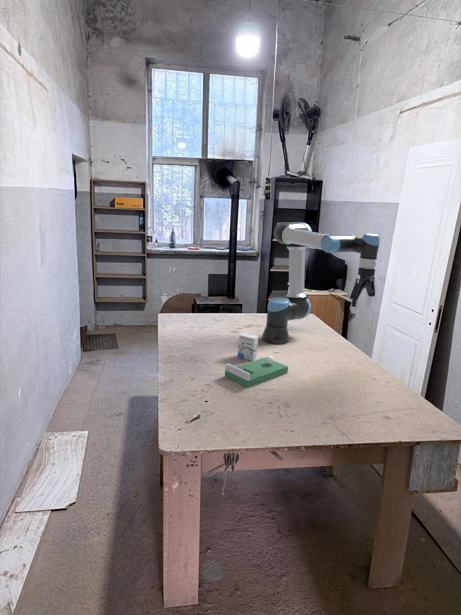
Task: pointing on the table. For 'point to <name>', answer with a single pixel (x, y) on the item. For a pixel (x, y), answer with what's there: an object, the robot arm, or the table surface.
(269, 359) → the ball
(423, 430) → the table surface
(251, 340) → the ink box
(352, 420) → the table surface
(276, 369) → the putting deck
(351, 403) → the table surface
